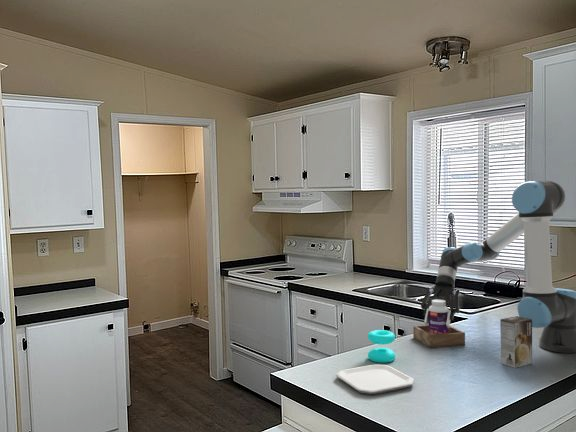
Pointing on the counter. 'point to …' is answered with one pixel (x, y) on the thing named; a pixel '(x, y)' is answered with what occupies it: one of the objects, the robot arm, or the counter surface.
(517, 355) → the coffee box
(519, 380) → the counter surface
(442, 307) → the pill bottle
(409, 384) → the plate
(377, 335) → the donuts
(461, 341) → the crate
